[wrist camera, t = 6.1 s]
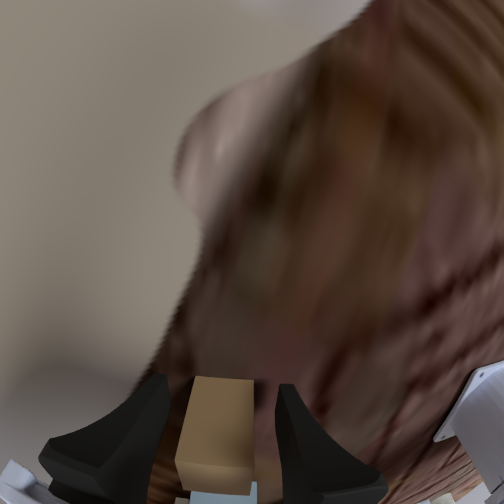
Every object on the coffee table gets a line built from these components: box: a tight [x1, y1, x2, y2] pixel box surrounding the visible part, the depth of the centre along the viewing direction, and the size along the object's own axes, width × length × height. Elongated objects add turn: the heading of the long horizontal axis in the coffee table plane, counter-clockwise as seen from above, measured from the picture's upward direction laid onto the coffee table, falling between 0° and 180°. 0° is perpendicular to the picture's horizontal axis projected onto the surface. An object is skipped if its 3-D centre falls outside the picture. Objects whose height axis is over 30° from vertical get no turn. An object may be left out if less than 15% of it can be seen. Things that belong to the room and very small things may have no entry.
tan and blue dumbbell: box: [175, 376, 257, 504], centre depth 13 cm, size 5×17×6 cm, turn 177°
